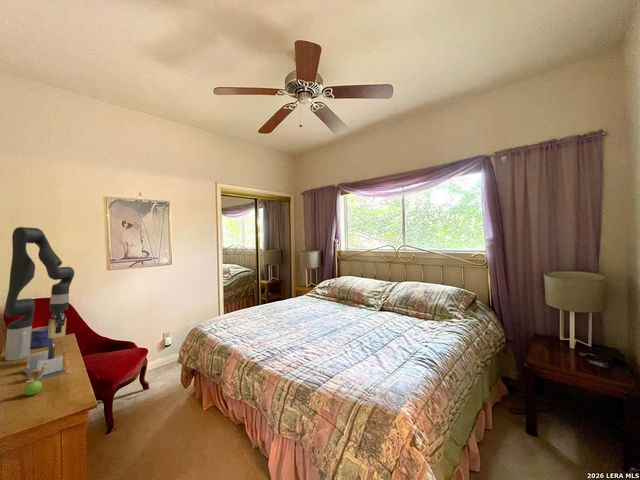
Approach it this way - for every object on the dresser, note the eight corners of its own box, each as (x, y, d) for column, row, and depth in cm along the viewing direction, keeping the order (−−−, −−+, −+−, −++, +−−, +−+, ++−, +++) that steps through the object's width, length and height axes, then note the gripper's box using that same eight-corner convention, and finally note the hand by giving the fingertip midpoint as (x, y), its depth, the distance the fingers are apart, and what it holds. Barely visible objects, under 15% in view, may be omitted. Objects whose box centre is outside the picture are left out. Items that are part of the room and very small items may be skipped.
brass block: (47, 337, 141) (49, 319, 142) (62, 334, 147) (63, 317, 147) (50, 338, 140) (51, 320, 140) (65, 335, 145) (66, 318, 145)
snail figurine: (47, 391, 111) (49, 363, 112) (27, 399, 105) (29, 369, 106) (40, 388, 113) (42, 361, 113) (19, 396, 107) (22, 367, 107)
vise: (23, 372, 128) (24, 355, 128) (51, 364, 137) (52, 348, 137) (36, 381, 119) (37, 362, 120) (64, 372, 128) (66, 355, 128)
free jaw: (36, 374, 122) (38, 344, 123) (59, 368, 129) (61, 339, 130) (39, 376, 120) (41, 345, 121) (62, 369, 127) (64, 341, 128)
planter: (26, 350, 155) (28, 332, 156) (30, 345, 164) (31, 328, 164) (52, 346, 163) (53, 328, 163) (54, 341, 171) (55, 325, 171)
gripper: (45, 301, 144) (42, 331, 143) (55, 304, 137) (52, 336, 137) (63, 299, 151) (60, 328, 150) (73, 302, 144) (70, 332, 143)
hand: (56, 332), depth 143 cm, fingers closed on brass block, 4 cm apart
